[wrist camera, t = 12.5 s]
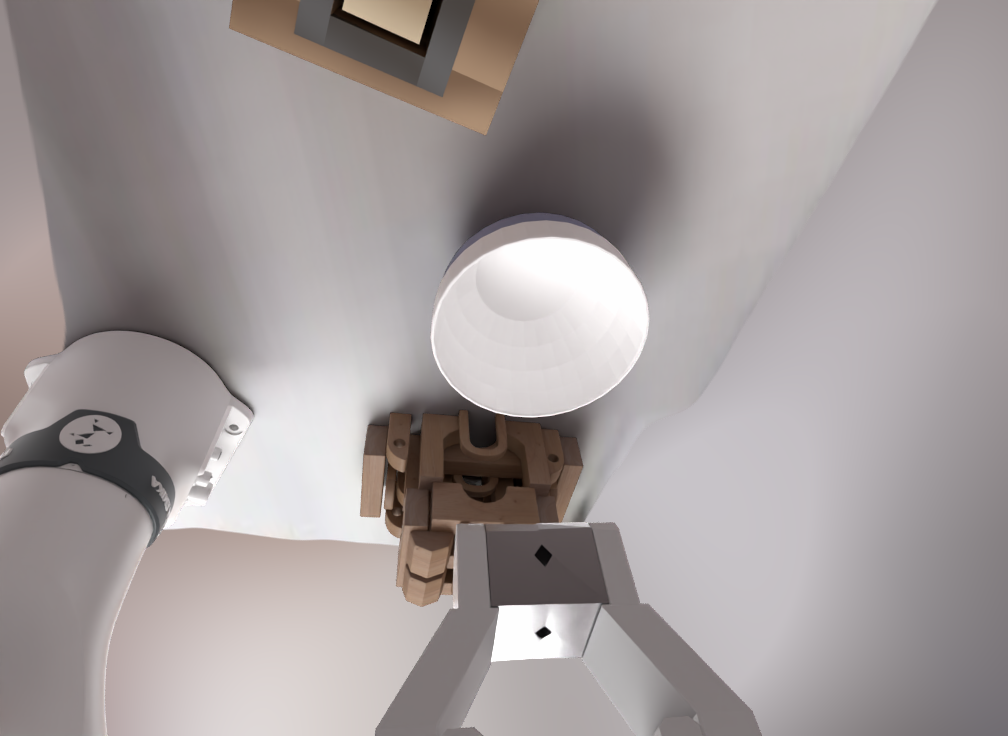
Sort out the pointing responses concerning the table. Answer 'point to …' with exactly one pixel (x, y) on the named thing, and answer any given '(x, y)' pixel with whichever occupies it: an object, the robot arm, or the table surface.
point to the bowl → (537, 316)
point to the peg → (393, 15)
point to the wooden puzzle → (460, 488)
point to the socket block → (404, 50)
